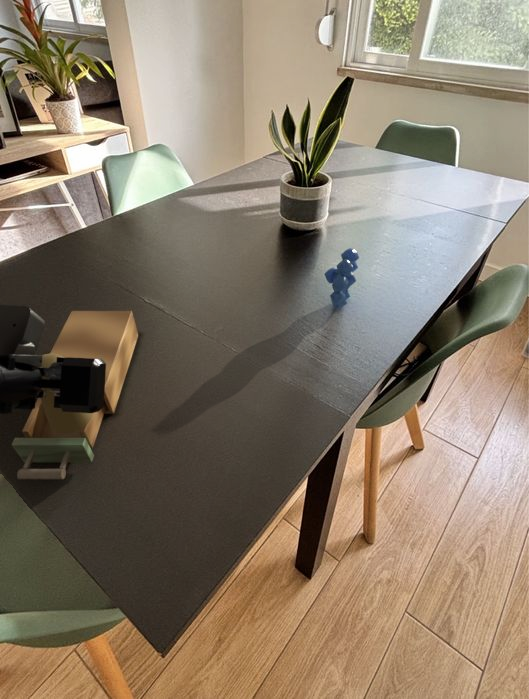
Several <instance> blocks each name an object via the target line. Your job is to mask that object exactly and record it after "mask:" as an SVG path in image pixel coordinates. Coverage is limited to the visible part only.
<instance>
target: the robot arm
mask: <svg viewBox="0 0 529 699" xmlns="http://www.w3.org/2000/svg"><path fill="white" fill-rule="evenodd" d="M45 327H46V322H45V320H44V319H43V318H42V316H40V315H39V314H37V313H36V312H35V311H34V310H33V309H32V308H30V307H29V306H27V305H19V304H16V305H15V304H0V415H7V414H12V413H13V410H14V409H15V410H33V409H35V404H36V402H37V400H36V399H37V398H45V397H46V390H45V389H44V390H43V391H42V389H41V388H50V391H54V408H61V409H62V411H63V412H77V413H95V412H98V411H100V410H101V409H102V408H103V407H104V391H105V375H106V363H105V362H104V361H103V360H102V359H94V358H73V357H66V358H61V357H57V362H55V363H52V364H51V365H50V367H49V368H42V367H41V366H42V357H43V356H42V355H43V354H42V355H41V354H36V351H37V350H38V347H39V344H40V340H41V336H42V334H43V330H44V329H45ZM52 374H53V375H52ZM41 375H42V376H45V377H48V376H49V377H50V379H44V378H42V376H41Z"/></svg>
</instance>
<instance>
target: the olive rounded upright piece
mask: <svg viewBox="0 0 529 699" xmlns="http://www.w3.org/2000/svg"><path fill="white" fill-rule="evenodd" d="M42 356H43V357H42V366H41V367H42V368H49V367H50V365H51V364H52V363H55V362H57V357H61V358H64V357H62V356H60V355H57V354H50V353H45V354H42ZM52 375H53V374H52ZM41 376H42V375H41ZM42 378H44V379H50V377H49V376H48V377H45V376H42ZM41 389H42V391H43V390H44V389H45V390H46V397H45V398H41V401H42V404H43V407H44V410H45V414H46V417H47V420H48V423H49V426H50V428H51V429H52V430H53V431H54V432H56V433H59V434H69V433H74V432H76V431H78V430H80V429H82V428H83V427H85V426H86V425H87V424H88V423H89V421H90V420H91V418H92V415H93V413H77V412H63V411H62V409H61V408H54V391H50V388H41Z"/></svg>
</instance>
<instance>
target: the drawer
mask: <svg viewBox="0 0 529 699" xmlns="http://www.w3.org/2000/svg"><path fill="white" fill-rule="evenodd" d="M106 407H107V404H106V402H105V400H104V407H103V408H102V409H101V410H100V411H98V412H95V413H93V415H92V418H91V420H90V421H89V423H88V424H87V425H86V426H85V427H83V428H82V429H80V430H78V431H76V432H74V433H69V434H59V433H56V432H54V431H53V430H52V429H51V428H50V426H49V423H48V420H47V417H46V414H45V410H44V407H43V404H42V401H41V398H38V400H36V401H35V409H31V412H30V414H29V415H28V418H27V420H26V422H25V424H24V426H23V428H22V430H21V433H22V434H23V435H24V437H15V438H13V441H12V442H11V447H12V448H13V449H14V451H15V452H16V453H17V455H18V456H19V458H20V459H21V460H22V462H23V463H24V464H23V467H22V468H19V469H18V471H17V473H16V477H17V479H18V480H64V479H65V478H66V476H67V470H66V468H67V466H68V464H69V463H93V461H94V457H95V454H94V452H93V451H92V449H93V448H94V446H95V442H96V440H97V436H98V433H99V430H100V427H101V425H102V421H103V418H104V415H105V414H104V413H105V410H106ZM32 463H60V465H59V468H30V467H31V465H32Z"/></svg>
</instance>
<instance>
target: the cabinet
mask: <svg viewBox="0 0 529 699" xmlns="http://www.w3.org/2000/svg"><path fill="white" fill-rule="evenodd" d="M138 338H139V333H138V328H137V325H136V321H135V317H134V314H133V310H71V312H70V314H69V316H68V318H67V320H66V322H65V323H64V325H63V327H62V329H61V330H60V333H59V336H57V339H56V341H55V343H54V344H53V347H52V349H51V351H50V352H49V354H57V355H60V356H62V357H64V358H66V357H73V358H94V359H102V360H103V361H104V362H105V363H106V375H105V391H104V400H105V402H106V404H107V407H106V410H105V413H104V415H105V414H106V415H114V414H115V411H116V408H117V404H118V402H119V398H120V395H121V392H122V389H123V385H124V383H125V380H126V376H127V373H128V370H129V367H130V363H131V360H132V358H133V354H134V350H135V347H136V345H137V342H138ZM36 399H37V400H38V398H36ZM37 400H36V401H37Z"/></svg>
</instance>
